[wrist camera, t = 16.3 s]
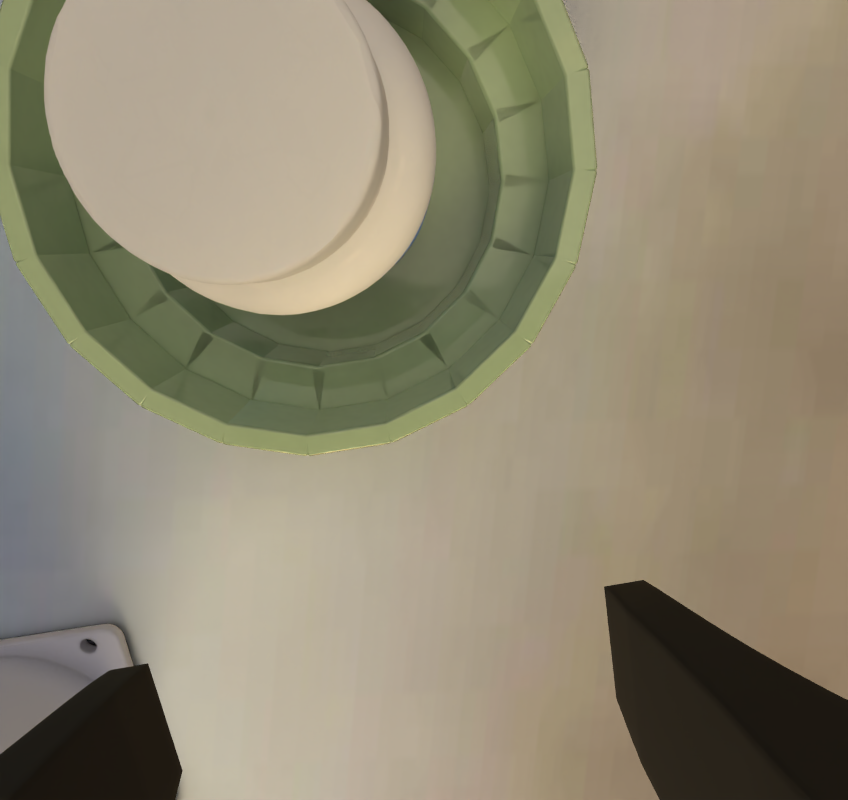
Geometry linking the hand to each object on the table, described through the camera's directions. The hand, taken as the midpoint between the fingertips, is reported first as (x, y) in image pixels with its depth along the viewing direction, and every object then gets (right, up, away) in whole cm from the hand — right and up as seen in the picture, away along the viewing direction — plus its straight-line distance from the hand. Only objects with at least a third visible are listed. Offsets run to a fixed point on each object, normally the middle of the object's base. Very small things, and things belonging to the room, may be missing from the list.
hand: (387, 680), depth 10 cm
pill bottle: (-2, +10, +7) cm, 13 cm away
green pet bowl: (-2, +10, +8) cm, 13 cm away
